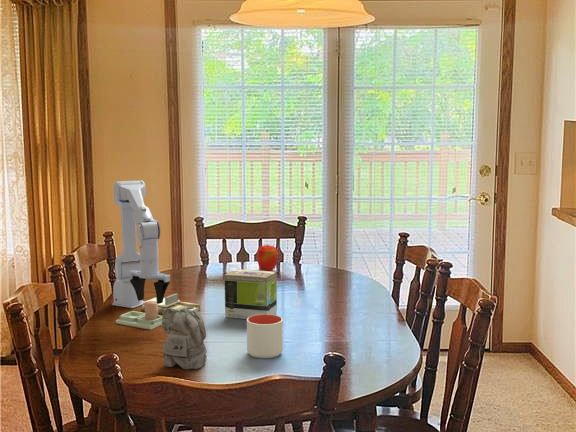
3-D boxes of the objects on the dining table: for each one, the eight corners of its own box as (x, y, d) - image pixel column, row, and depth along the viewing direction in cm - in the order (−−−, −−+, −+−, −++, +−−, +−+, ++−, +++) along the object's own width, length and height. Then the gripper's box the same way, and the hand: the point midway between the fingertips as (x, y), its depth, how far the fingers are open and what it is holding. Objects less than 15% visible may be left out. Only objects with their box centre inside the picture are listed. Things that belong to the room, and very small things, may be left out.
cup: (246, 348, 198) (246, 314, 196) (281, 347, 198) (281, 313, 197) (247, 360, 188) (247, 325, 186) (284, 359, 189) (284, 324, 187)
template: (142, 310, 235) (142, 305, 235) (160, 303, 244) (160, 298, 244) (183, 317, 228) (182, 311, 227) (200, 309, 236) (200, 304, 236)
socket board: (115, 323, 221) (115, 316, 220) (134, 316, 229) (134, 309, 228) (150, 329, 214) (150, 322, 214) (168, 321, 222) (168, 315, 222)
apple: (257, 273, 290) (257, 245, 288) (256, 269, 298) (255, 241, 297) (279, 273, 290) (279, 245, 289) (277, 268, 299) (277, 241, 298)
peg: (142, 321, 219) (142, 303, 218) (150, 318, 223) (149, 300, 222) (153, 323, 217) (152, 304, 216) (160, 320, 221) (160, 301, 220)
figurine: (174, 355, 191) (173, 303, 189) (211, 359, 188) (211, 306, 186) (157, 368, 182) (155, 313, 180) (196, 373, 179) (195, 317, 176)
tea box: (277, 313, 232) (277, 270, 230) (266, 322, 222) (266, 277, 220) (236, 309, 237) (235, 267, 234) (224, 317, 227) (223, 274, 225)
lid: (143, 303, 236) (142, 295, 236) (157, 298, 243) (157, 289, 243) (165, 307, 232) (165, 298, 231) (180, 301, 239) (179, 293, 238)
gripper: (122, 259, 217) (124, 301, 219) (159, 264, 210) (160, 307, 212) (137, 255, 223) (138, 296, 225) (173, 260, 216) (174, 302, 218)
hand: (150, 301), depth 219 cm, fingers open, 7 cm apart
